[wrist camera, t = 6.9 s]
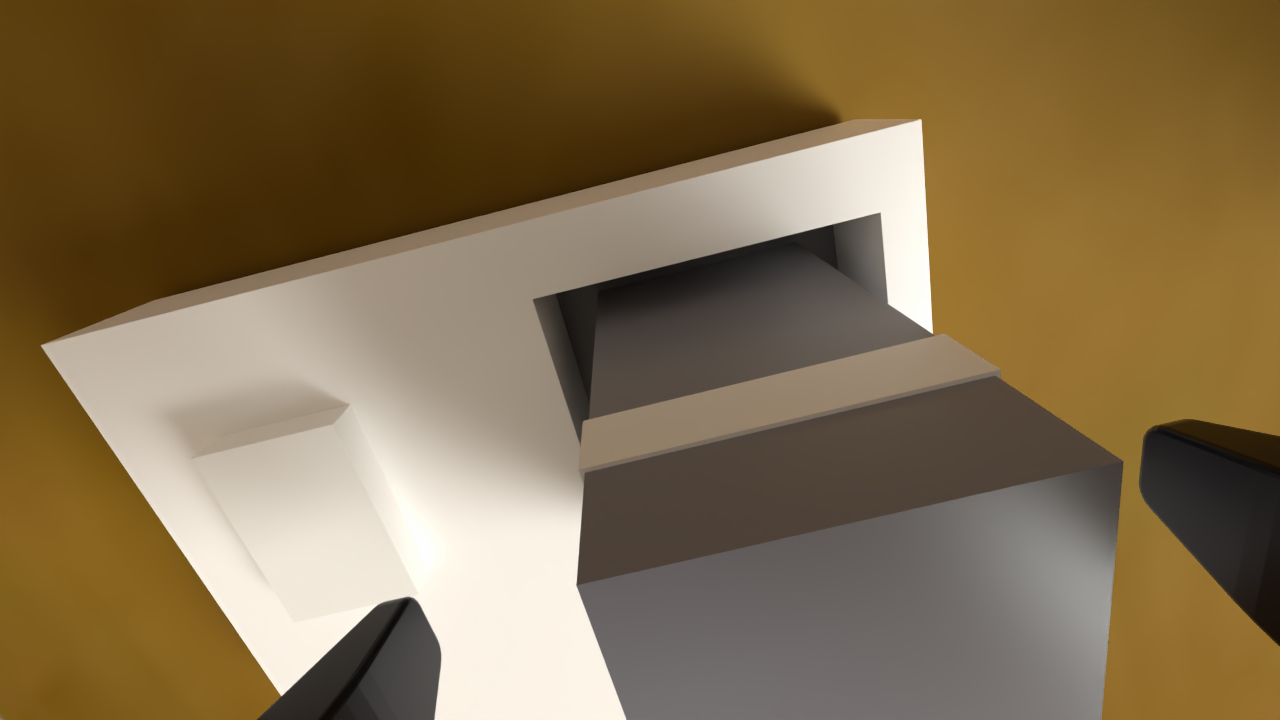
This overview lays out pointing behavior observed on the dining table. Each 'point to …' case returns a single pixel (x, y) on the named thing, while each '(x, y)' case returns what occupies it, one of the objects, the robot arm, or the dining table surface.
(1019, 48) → the dining table surface
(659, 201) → the socket plate
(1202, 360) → the dining table surface
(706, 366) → the plug
